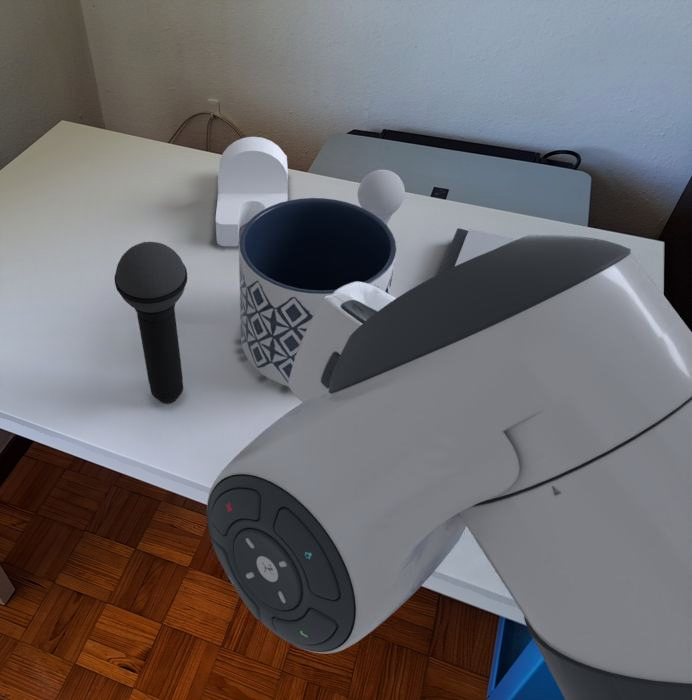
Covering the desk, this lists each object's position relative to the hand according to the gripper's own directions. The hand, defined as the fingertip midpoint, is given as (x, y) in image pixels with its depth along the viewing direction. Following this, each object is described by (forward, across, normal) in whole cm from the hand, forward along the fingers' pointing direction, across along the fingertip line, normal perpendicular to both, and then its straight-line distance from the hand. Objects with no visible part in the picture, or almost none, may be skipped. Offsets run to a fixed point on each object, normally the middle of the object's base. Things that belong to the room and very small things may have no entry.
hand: (506, 358), depth 47 cm
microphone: (+5, +28, +25) cm, 38 cm away
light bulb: (+40, +27, +9) cm, 49 cm away
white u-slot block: (+36, +44, +13) cm, 58 cm away
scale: (+40, +8, +7) cm, 42 cm away
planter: (+20, +22, +18) cm, 34 cm away
